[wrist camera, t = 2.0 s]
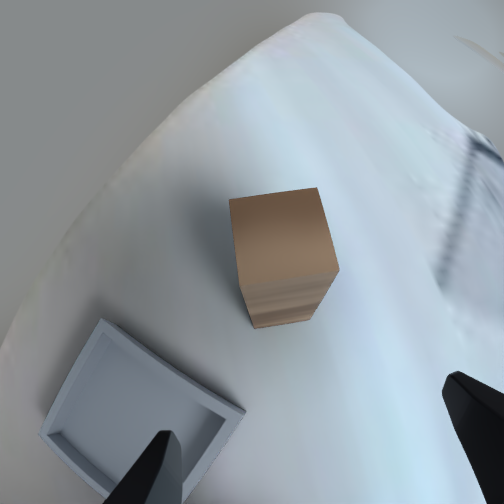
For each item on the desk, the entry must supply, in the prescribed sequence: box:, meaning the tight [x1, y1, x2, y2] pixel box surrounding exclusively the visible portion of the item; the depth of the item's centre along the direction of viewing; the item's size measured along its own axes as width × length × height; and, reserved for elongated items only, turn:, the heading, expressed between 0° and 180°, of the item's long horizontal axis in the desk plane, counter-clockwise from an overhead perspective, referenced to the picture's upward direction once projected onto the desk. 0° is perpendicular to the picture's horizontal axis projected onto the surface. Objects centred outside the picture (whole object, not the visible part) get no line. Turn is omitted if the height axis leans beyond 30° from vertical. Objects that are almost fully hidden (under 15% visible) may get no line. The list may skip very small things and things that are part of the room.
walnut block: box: [229, 188, 339, 329], centre depth 18 cm, size 4×4×11 cm
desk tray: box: [38, 318, 246, 504], centre depth 19 cm, size 13×13×2 cm
